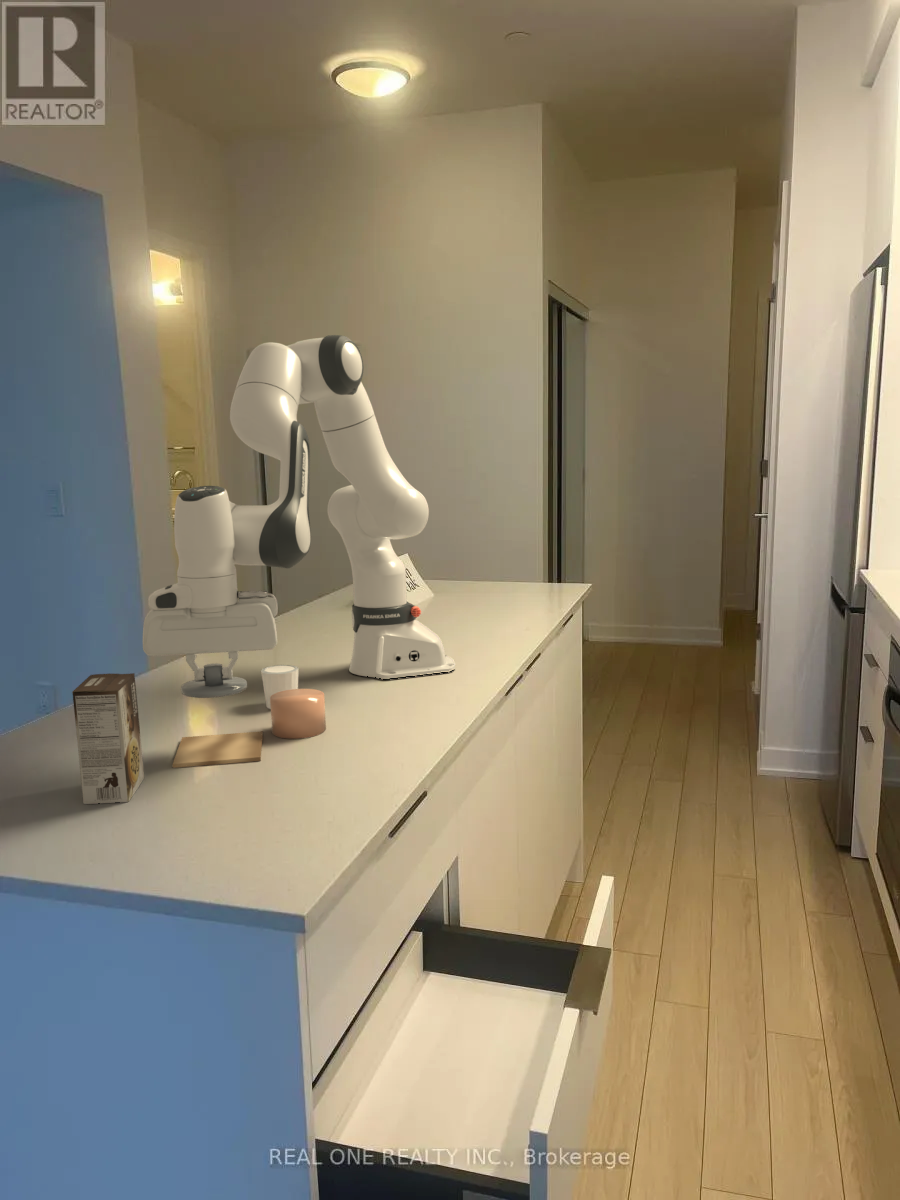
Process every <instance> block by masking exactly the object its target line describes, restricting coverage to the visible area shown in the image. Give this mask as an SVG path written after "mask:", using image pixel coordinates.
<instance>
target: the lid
mask: <svg viewBox="0 0 900 1200" xmlns="http://www.w3.org/2000/svg"><path fill="white" fill-rule="evenodd" d="M203 668H204V677H205V681H201V682H195V679H192V680H189V681H187V682H185V683H183V684H181V686H180V688H181V689H180V691H181V694H182V695H184V696H185V697H189V698H195V699H196V698H197V699H213V698H224V697H227V696H233V695H236V694H239V693H241V692H244V691H246V690H247V689H248V681H247V680H246V679H245V678H243V677H238V676H233V678H232V680H223V679H222V676H223V674H222V668H223V664H222V663H217V662H216V663H207V664H205V665H203Z"/></svg>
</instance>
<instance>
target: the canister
mask: <svg viewBox="0 0 900 1200" xmlns="http://www.w3.org/2000/svg"><path fill="white" fill-rule="evenodd" d="M325 699H326V698H325V693H324V692H323V691H321V690H319V689H314V688H298V689H291V690H285V691H281V692H277V693H275V694H273V695H272V696H271V697H270V705H271V709H270V718H271V719H270V720H271V733H272V735H273V736H275V737H277V738H281V739H289V740H290V739H291V740H296V739H298V740H299V739H306V738H307V739H308V738H311V737H315V736H319V735H321V734H323V733H324V732H325V731H326V730H327V725H326V724H327V722H326V718H327V717H326V704H325V703H326V701H325Z"/></svg>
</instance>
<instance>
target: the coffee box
mask: <svg viewBox="0 0 900 1200" xmlns="http://www.w3.org/2000/svg"><path fill="white" fill-rule="evenodd" d="M71 694H72V703H73V711H74V720H75V721H74V722H75V731H76V741H77V752H78V753H77V754H78V762H79V772H80V773H79V774H80V784H81V792H82V802H83V805H95V804H98V803H100V804H115V802H120V803H130V800H132V798H133V796H134V794H135V793H136V791H137V790H138V789H139V787H140V785H141V784H142V782H143V781H144V779H145V773H144V771H145V770H144V761H143V760H144V759H143V750H142V741H141V730H140V729H141V728H140V718H139V708H138V697H137V695H138V694H137V685H136V678H135V672H133V673H132V672H131V673H94V674H90V675H89V676H87V678H86V679H84V680H83V681H82V682H81V683H80V684H79V685H78V686H77V687H76V688H75V689H73V690H72V691H71Z"/></svg>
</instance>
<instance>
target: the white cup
mask: <svg viewBox="0 0 900 1200" xmlns="http://www.w3.org/2000/svg"><path fill="white" fill-rule="evenodd" d="M260 672H261V673H260V674H261V678H262V679H261V680H262V685H263V691H264V699H265V706H266V708H267V709H269V710H271V705H270V697H271V696H272V695H273V694H275V693H277V692H281V691H285V690H291V689H299V666H296V665H292V664H279V665H278V664H277V665H270V666H266V667H263V668H262V669H260Z"/></svg>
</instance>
